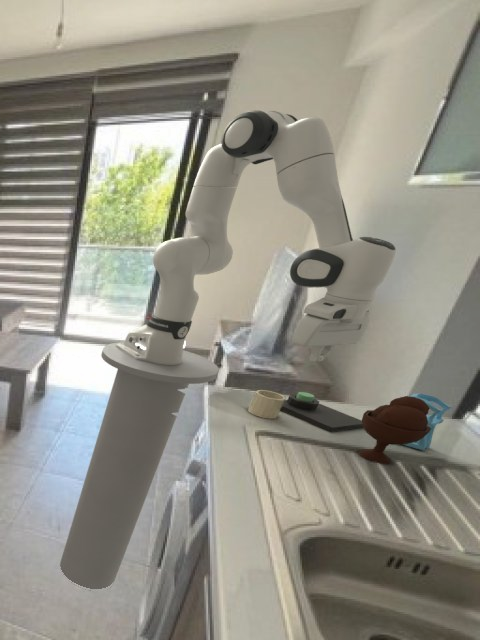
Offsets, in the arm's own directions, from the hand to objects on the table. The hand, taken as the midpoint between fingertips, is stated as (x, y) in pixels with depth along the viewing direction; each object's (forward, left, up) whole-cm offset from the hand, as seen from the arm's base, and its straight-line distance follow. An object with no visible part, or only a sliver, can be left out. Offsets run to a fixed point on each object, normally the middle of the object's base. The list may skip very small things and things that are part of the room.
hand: (315, 360), depth 126 cm
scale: (+5, +3, -14) cm, 15 cm away
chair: (+21, +10, -14) cm, 27 cm away
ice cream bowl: (+25, -7, -14) cm, 29 cm away
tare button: (0, +3, -12) cm, 12 cm away
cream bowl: (+1, -11, -14) cm, 18 cm away
